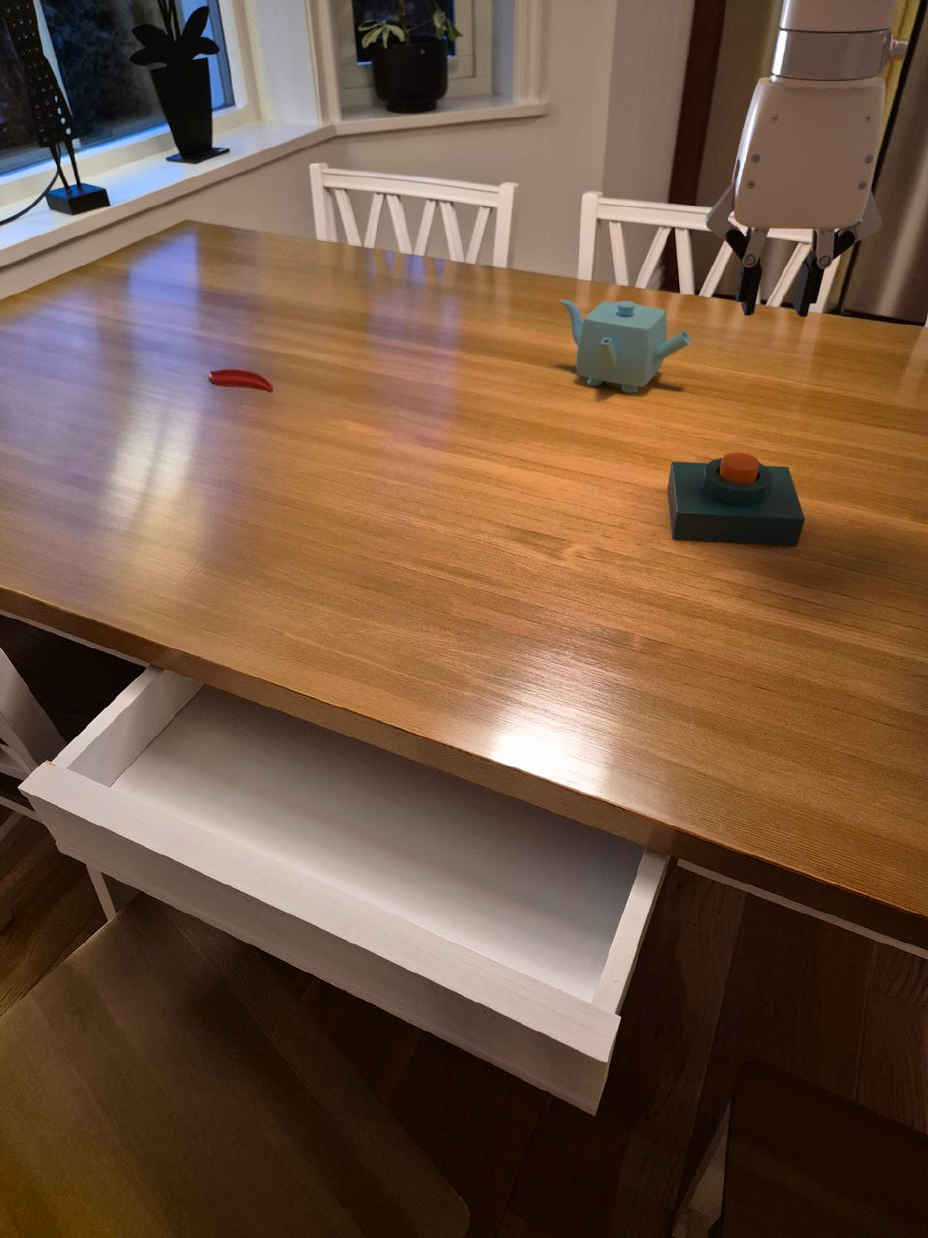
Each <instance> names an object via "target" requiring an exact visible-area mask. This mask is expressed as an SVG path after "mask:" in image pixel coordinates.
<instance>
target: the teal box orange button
mask: <svg viewBox="0 0 928 1238" xmlns="http://www.w3.org/2000/svg"><path fill="white" fill-rule="evenodd" d="M722 458H723V457H720V458H719V457H718V458H715V459H712V460H710V461H709V462H707V463H706V462H690V461H689V462H688V461H671V463H670V470H669V476H668V482H667V495H668V504H669V512H670V513H669V514H670V523H671V525H670V526H671V535H672V539H673V540H680V541H682V540H683V541H698V542H699V541H700V542H715V543H717V542H719V543H735V544H751V545H752V544H753V545H770V546H788V547H789V546H790V547H797V546H798V545H799V542H800V538H801V535H802V532H803V527H804V525H805V521H806V518H805V515H804V512H803V508H802V506H801V503H800V499H799V496H798V493H797V490H796V487H795V484H794V480H793V477H792V474H791V471H790V467H789V466H778V465H777V466H776V465H773V466H772V465H764V464H762V463H761V462H759V463H760V465H759V469H758V474H757V478H756V481H755V482H753V483H749V484H734V483H731V482H728V481H725V480H723V479H722V478H721V477H720V476H719V472H720V466H721V461H722Z"/></svg>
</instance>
